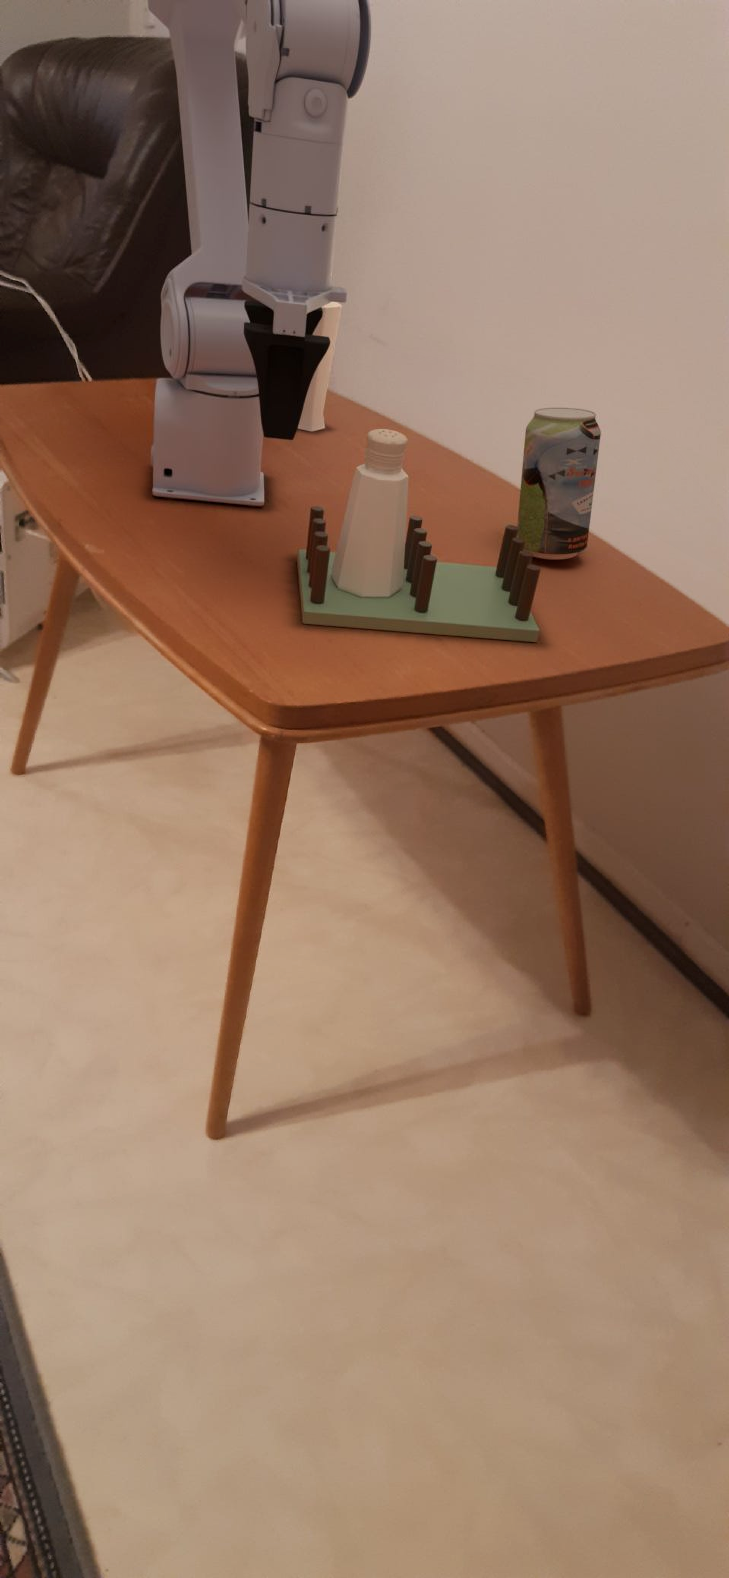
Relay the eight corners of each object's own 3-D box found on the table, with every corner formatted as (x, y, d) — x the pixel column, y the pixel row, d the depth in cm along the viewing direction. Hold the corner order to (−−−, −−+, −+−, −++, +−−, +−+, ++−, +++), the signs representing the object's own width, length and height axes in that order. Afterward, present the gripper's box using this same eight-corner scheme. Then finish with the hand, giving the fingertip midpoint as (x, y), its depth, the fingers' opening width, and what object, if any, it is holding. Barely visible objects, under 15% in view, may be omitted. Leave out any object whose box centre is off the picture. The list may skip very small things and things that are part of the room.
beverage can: (566, 575, 85) (604, 430, 78) (488, 548, 88) (518, 405, 81) (593, 556, 90) (632, 416, 83) (518, 530, 92) (549, 393, 86)
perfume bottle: (327, 434, 108) (344, 280, 100) (286, 429, 108) (299, 273, 100) (329, 422, 112) (346, 272, 104) (289, 417, 112) (302, 265, 103)
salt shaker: (315, 574, 76) (332, 424, 70) (372, 563, 79) (393, 419, 73) (360, 604, 73) (382, 450, 67) (417, 592, 76) (443, 443, 70)
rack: (302, 624, 71) (309, 556, 69) (296, 560, 80) (303, 498, 78) (537, 642, 74) (553, 578, 71) (506, 579, 83) (519, 519, 80)
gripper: (364, 230, 61) (339, 458, 69) (346, 205, 73) (326, 401, 81) (246, 215, 60) (233, 447, 68) (246, 191, 72) (236, 392, 80)
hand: (277, 422), depth 74 cm, fingers open, 7 cm apart
